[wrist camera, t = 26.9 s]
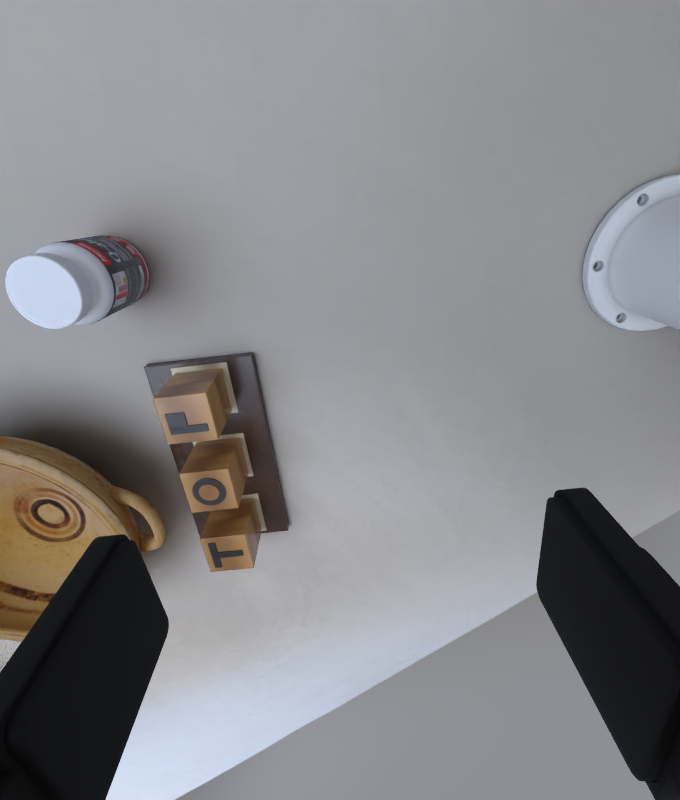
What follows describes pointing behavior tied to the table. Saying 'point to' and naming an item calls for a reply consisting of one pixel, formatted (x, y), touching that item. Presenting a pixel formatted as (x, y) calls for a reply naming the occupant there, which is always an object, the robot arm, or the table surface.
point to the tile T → (232, 537)
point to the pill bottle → (77, 281)
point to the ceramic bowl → (55, 525)
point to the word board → (236, 432)
